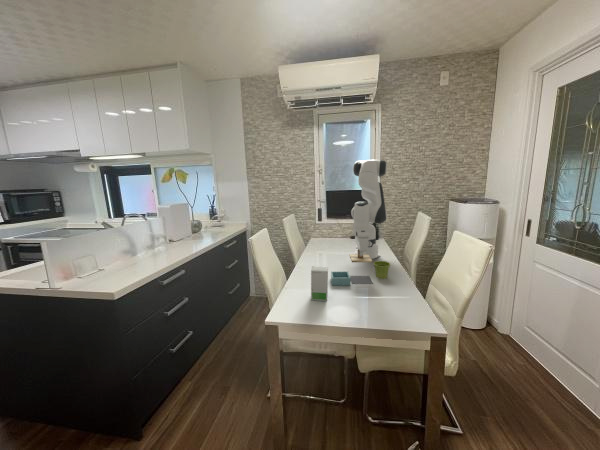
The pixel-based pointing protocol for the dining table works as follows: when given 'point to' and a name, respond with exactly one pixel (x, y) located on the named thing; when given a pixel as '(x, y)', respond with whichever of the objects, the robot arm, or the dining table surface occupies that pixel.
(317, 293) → the skincare box
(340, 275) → the teal open box
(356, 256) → the lid
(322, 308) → the dining table surface
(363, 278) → the mat
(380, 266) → the plant pot
